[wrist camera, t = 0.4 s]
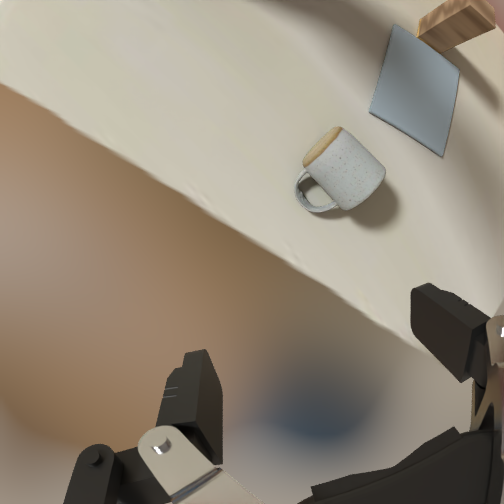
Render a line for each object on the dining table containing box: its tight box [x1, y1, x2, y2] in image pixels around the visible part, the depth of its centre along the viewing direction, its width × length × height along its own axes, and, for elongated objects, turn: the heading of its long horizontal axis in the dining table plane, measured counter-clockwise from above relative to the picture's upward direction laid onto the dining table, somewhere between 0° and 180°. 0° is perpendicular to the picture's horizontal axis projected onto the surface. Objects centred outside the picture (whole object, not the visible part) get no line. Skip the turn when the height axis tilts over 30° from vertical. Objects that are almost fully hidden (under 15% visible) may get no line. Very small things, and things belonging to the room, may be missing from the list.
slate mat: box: [369, 24, 460, 157], centre depth 34 cm, size 18×14×1 cm
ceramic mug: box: [294, 127, 386, 212], centre depth 33 cm, size 11×8×8 cm
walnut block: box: [417, 0, 496, 54], centre depth 24 cm, size 5×5×15 cm
